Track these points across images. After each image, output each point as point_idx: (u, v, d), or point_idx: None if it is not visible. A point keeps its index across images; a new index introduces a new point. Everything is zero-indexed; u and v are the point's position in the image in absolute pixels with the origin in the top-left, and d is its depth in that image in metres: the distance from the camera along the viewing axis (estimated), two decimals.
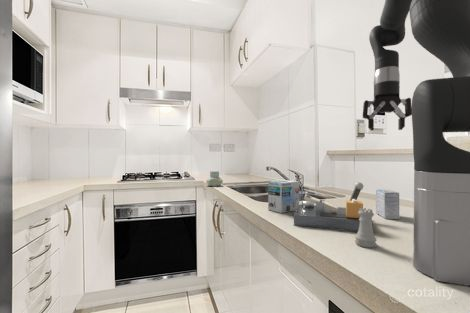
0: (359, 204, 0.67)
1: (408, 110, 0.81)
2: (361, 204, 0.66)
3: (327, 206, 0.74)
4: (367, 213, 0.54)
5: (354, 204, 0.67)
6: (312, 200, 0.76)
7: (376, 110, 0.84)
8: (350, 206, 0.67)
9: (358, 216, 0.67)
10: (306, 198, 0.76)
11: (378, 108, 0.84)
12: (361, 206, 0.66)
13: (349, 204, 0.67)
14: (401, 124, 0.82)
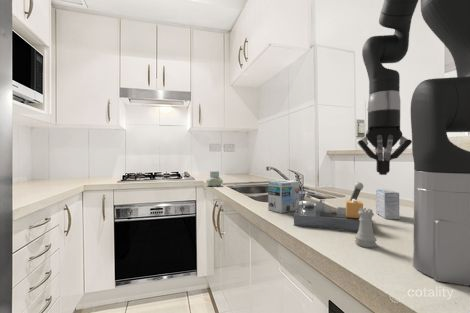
0: (359, 204, 0.67)
1: (397, 152, 0.64)
2: (361, 204, 0.66)
3: (327, 206, 0.74)
4: (367, 213, 0.54)
5: (354, 204, 0.67)
6: (312, 200, 0.76)
7: (379, 148, 0.65)
8: (350, 206, 0.67)
9: (358, 216, 0.67)
10: (306, 198, 0.76)
11: (379, 145, 0.65)
12: (361, 206, 0.66)
13: (349, 204, 0.67)
14: (385, 168, 0.65)
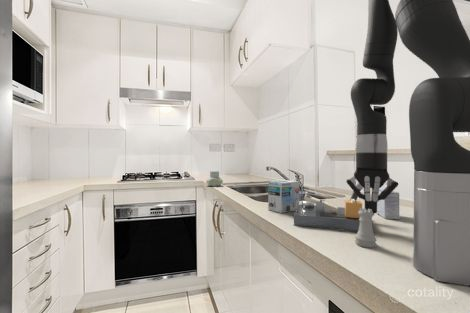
0: (358, 204, 0.67)
1: (384, 193, 0.65)
2: (360, 204, 0.66)
3: (327, 206, 0.74)
4: (367, 213, 0.54)
5: (353, 204, 0.67)
6: (312, 200, 0.76)
7: (367, 189, 0.66)
8: (349, 206, 0.67)
9: (357, 216, 0.67)
10: (306, 198, 0.76)
11: (367, 186, 0.66)
12: (360, 206, 0.66)
13: (348, 204, 0.67)
14: (372, 209, 0.66)
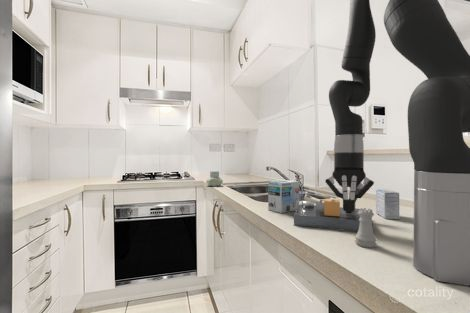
0: (336, 202, 0.69)
1: (361, 192, 0.67)
2: (338, 202, 0.68)
3: None
4: (367, 213, 0.54)
5: (331, 202, 0.69)
6: (312, 200, 0.76)
7: (344, 188, 0.68)
8: (327, 204, 0.69)
9: (335, 214, 0.69)
10: (306, 198, 0.76)
11: (344, 185, 0.68)
12: (338, 204, 0.68)
13: (326, 202, 0.69)
14: (350, 207, 0.68)
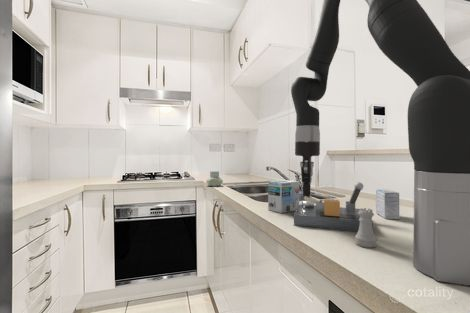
0: (336, 202, 0.69)
1: (302, 176, 0.76)
2: (338, 202, 0.68)
3: None
4: (367, 213, 0.54)
5: (331, 202, 0.69)
6: (312, 200, 0.76)
7: None
8: (327, 204, 0.69)
9: (335, 214, 0.69)
10: (306, 198, 0.76)
11: None
12: (338, 204, 0.68)
13: (326, 202, 0.69)
14: (303, 190, 0.78)
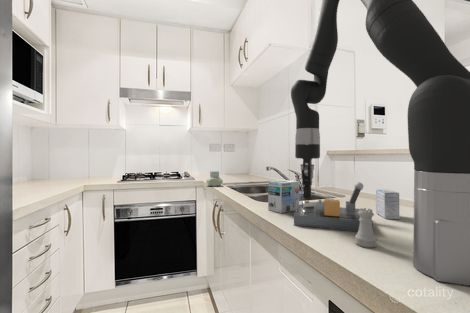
0: (336, 202, 0.69)
1: None
2: (338, 202, 0.68)
3: None
4: (367, 213, 0.54)
5: (331, 202, 0.69)
6: (312, 204, 0.76)
7: None
8: (327, 204, 0.69)
9: (335, 214, 0.69)
10: (305, 205, 0.76)
11: None
12: (338, 204, 0.68)
13: (326, 202, 0.69)
14: None
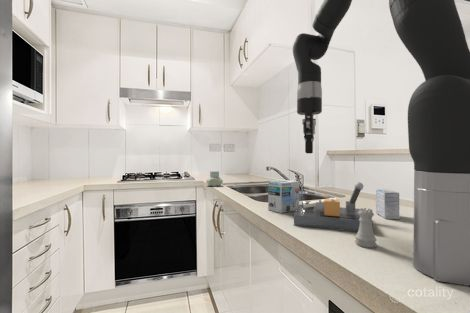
0: (336, 202, 0.69)
1: (304, 133, 0.75)
2: (338, 202, 0.68)
3: None
4: (367, 213, 0.54)
5: (331, 202, 0.69)
6: (312, 204, 0.76)
7: None
8: (327, 204, 0.69)
9: (335, 214, 0.69)
10: (306, 206, 0.76)
11: None
12: (338, 204, 0.68)
13: (326, 202, 0.69)
14: (305, 148, 0.78)
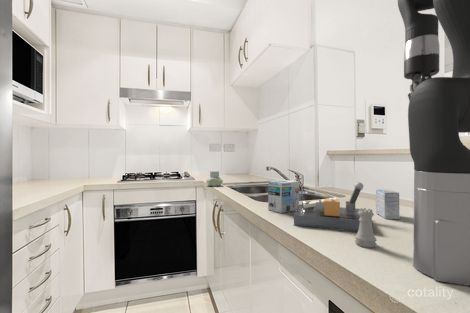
0: (336, 202, 0.69)
1: None
2: (338, 202, 0.68)
3: None
4: (367, 213, 0.54)
5: (331, 202, 0.69)
6: (312, 204, 0.76)
7: None
8: (327, 204, 0.69)
9: (335, 214, 0.69)
10: (306, 206, 0.76)
11: (411, 94, 0.67)
12: (338, 204, 0.68)
13: (326, 202, 0.69)
14: None
